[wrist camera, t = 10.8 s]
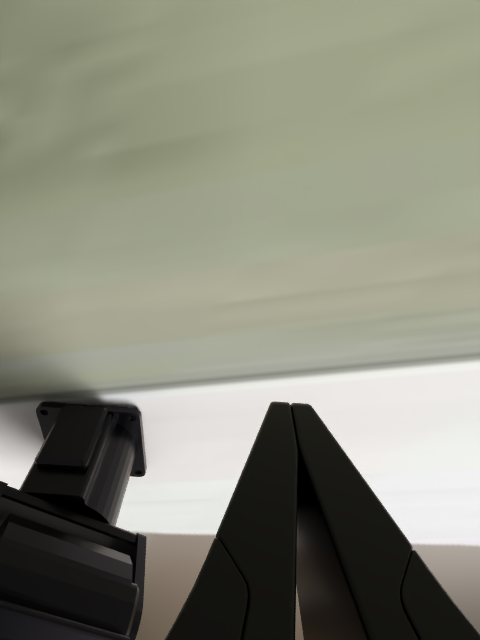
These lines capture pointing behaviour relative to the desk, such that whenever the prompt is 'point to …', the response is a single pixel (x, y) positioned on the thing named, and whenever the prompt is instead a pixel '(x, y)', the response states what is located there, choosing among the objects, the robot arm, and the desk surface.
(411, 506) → the desk surface
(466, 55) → the desk surface
